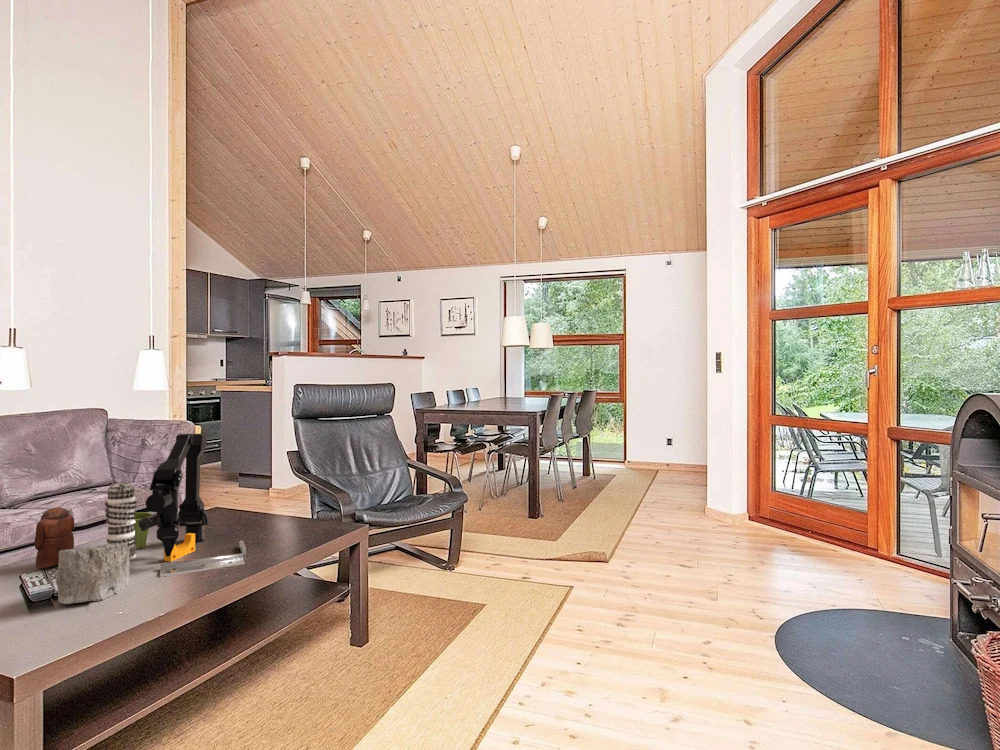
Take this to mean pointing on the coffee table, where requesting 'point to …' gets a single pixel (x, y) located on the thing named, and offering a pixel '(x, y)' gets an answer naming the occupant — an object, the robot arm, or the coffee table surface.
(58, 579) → the petrified wood
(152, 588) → the coffee table surface
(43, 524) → the wooden figurine
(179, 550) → the pipe clamp
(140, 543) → the plant pot
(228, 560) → the hinge bed
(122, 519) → the decorative candle
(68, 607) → the coffee table surface
